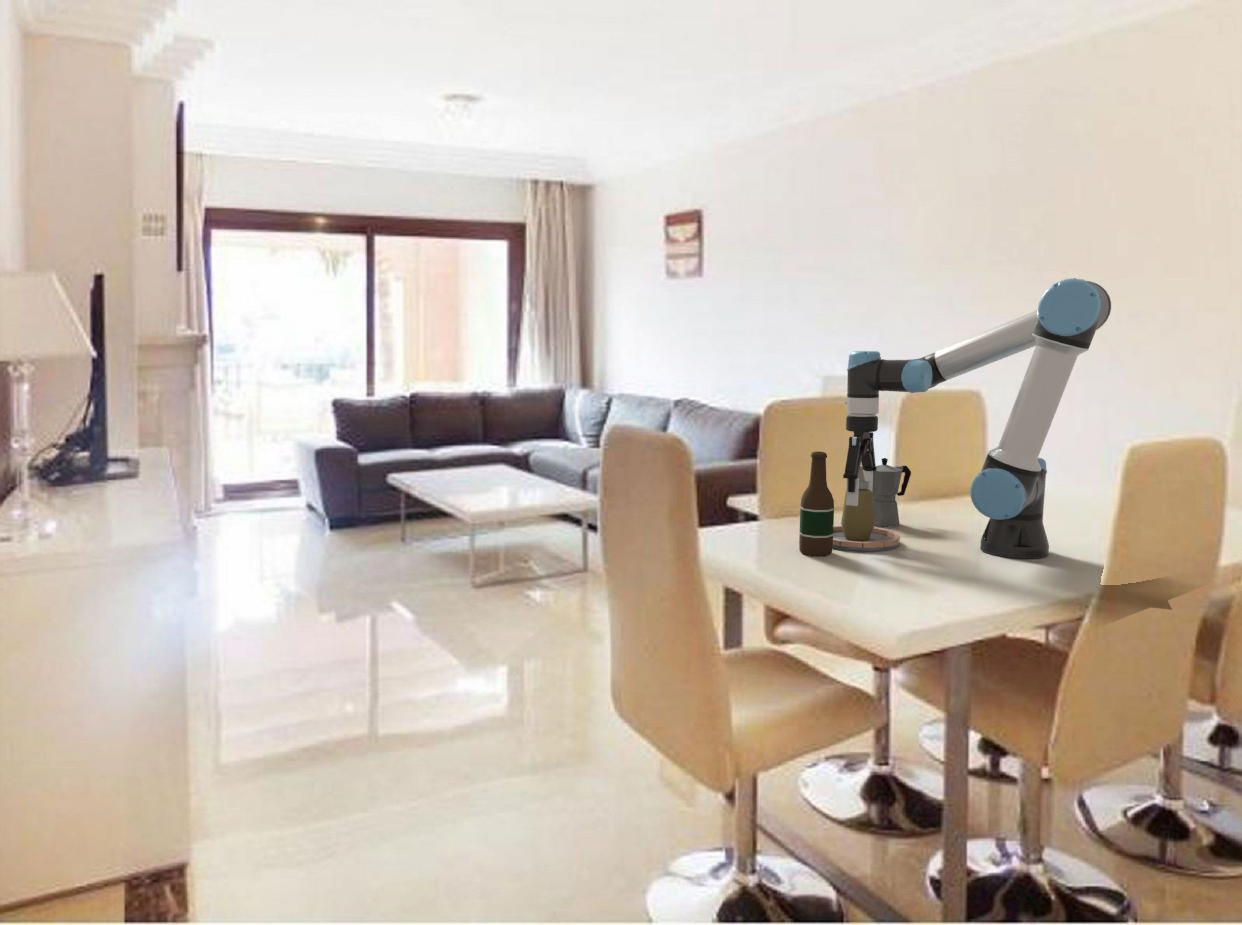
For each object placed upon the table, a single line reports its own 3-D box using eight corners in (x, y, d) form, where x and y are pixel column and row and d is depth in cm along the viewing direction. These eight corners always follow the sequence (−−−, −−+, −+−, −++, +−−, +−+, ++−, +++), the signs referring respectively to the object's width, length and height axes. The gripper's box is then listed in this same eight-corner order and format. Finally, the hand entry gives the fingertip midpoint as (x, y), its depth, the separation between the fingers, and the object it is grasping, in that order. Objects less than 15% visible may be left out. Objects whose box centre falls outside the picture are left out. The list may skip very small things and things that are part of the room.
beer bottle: (812, 558, 223) (816, 455, 220) (792, 551, 230) (795, 451, 227) (839, 554, 227) (843, 453, 223) (818, 548, 234) (821, 449, 230)
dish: (915, 544, 238) (916, 535, 238) (864, 555, 226) (865, 546, 226) (849, 530, 254) (850, 522, 253) (799, 540, 241) (799, 532, 241)
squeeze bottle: (876, 536, 242) (879, 465, 239) (870, 543, 234) (873, 469, 232) (844, 533, 245) (846, 463, 242) (837, 540, 238) (839, 467, 235)
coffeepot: (872, 529, 256) (875, 461, 253) (851, 522, 264) (853, 457, 262) (919, 524, 262) (922, 458, 259) (896, 518, 270) (899, 454, 268)
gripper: (860, 410, 248) (857, 492, 251) (832, 418, 226) (829, 507, 229) (889, 411, 244) (886, 494, 247) (864, 419, 223) (861, 510, 226)
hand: (859, 501), depth 238 cm, fingers open, 13 cm apart
